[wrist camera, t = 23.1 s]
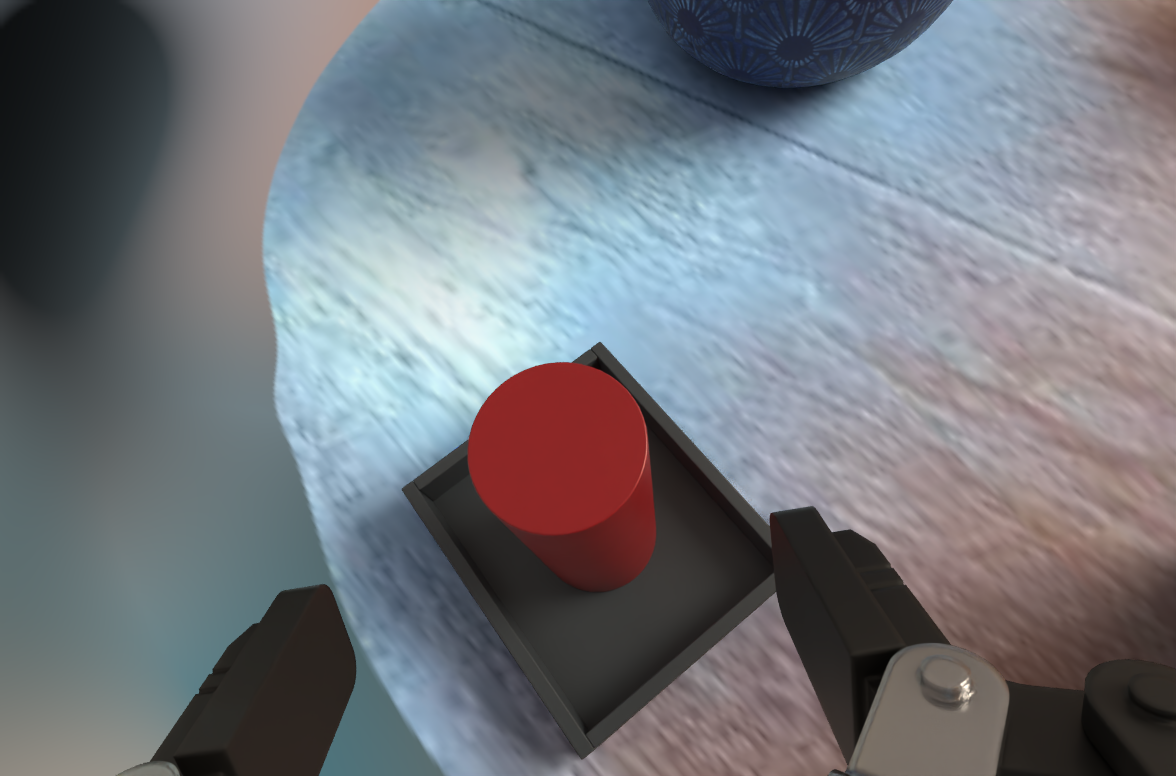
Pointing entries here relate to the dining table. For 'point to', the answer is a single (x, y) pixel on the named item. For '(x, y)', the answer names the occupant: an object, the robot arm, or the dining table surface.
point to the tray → (624, 615)
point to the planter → (795, 35)
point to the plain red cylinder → (568, 472)
